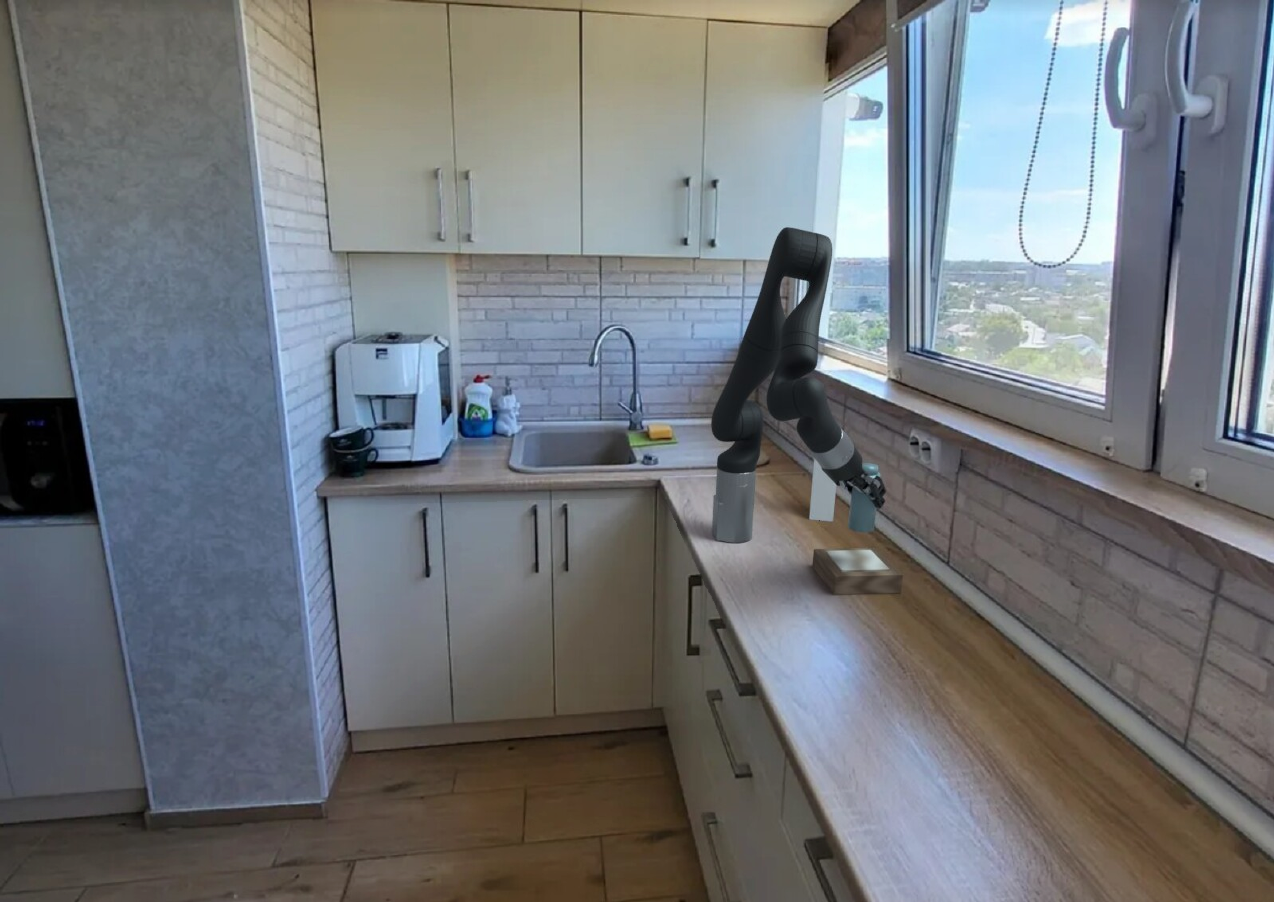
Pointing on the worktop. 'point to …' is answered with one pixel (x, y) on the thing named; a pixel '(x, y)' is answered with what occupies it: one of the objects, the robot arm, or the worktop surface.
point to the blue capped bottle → (863, 505)
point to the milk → (822, 495)
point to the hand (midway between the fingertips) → (869, 500)
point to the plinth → (857, 571)
